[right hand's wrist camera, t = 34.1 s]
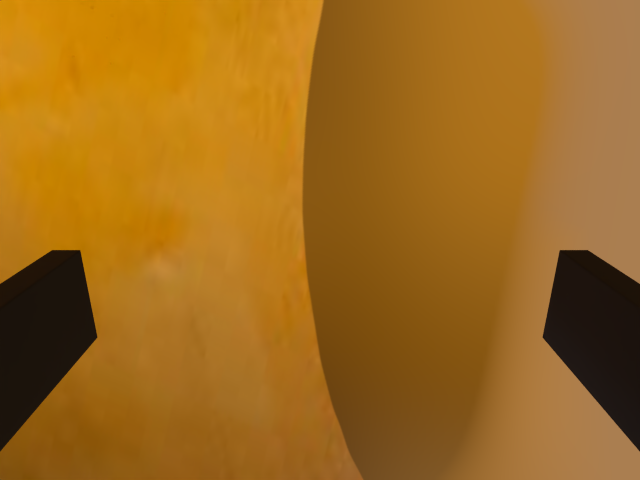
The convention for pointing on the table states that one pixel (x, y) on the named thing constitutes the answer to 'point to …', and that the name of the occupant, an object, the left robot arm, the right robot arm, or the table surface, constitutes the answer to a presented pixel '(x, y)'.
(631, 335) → the right robot arm
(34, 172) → the table surface
